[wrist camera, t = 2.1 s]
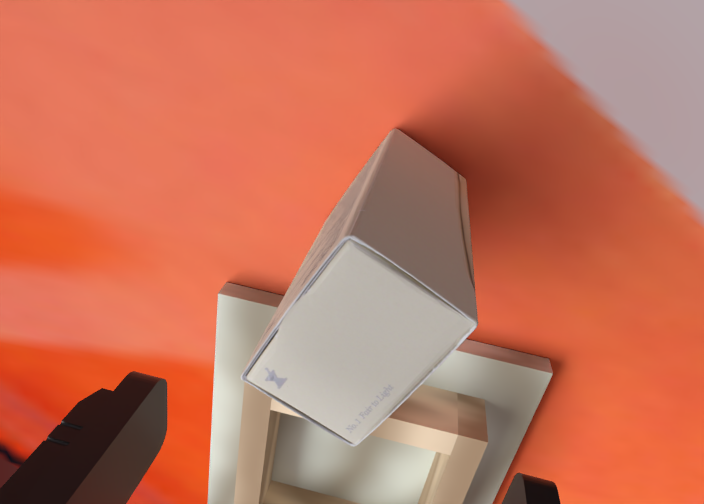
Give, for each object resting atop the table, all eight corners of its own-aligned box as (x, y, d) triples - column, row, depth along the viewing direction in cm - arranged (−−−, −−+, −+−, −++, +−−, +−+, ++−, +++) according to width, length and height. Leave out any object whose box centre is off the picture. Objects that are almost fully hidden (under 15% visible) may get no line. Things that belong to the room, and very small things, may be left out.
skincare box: (391, 268, 27) (354, 456, 16) (320, 220, 26) (232, 383, 16) (471, 174, 24) (489, 330, 13) (392, 118, 23) (345, 233, 13)
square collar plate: (214, 489, 38) (188, 544, 34) (226, 282, 29) (193, 326, 25) (459, 554, 36) (461, 619, 33) (549, 358, 28) (564, 416, 24)
